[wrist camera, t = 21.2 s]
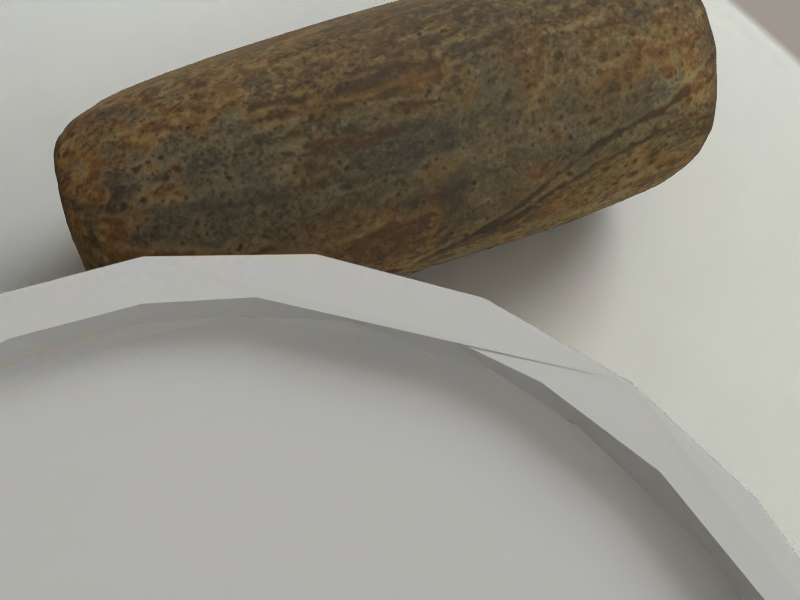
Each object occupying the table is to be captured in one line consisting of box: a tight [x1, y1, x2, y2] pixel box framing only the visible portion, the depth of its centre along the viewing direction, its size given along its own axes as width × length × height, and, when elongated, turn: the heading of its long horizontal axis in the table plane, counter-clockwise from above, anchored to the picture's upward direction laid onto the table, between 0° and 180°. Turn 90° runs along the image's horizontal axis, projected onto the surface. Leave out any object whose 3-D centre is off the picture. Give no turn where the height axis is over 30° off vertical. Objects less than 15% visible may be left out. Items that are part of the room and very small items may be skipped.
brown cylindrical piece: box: [54, 0, 717, 276], centre depth 18 cm, size 15×7×7 cm, turn 113°
